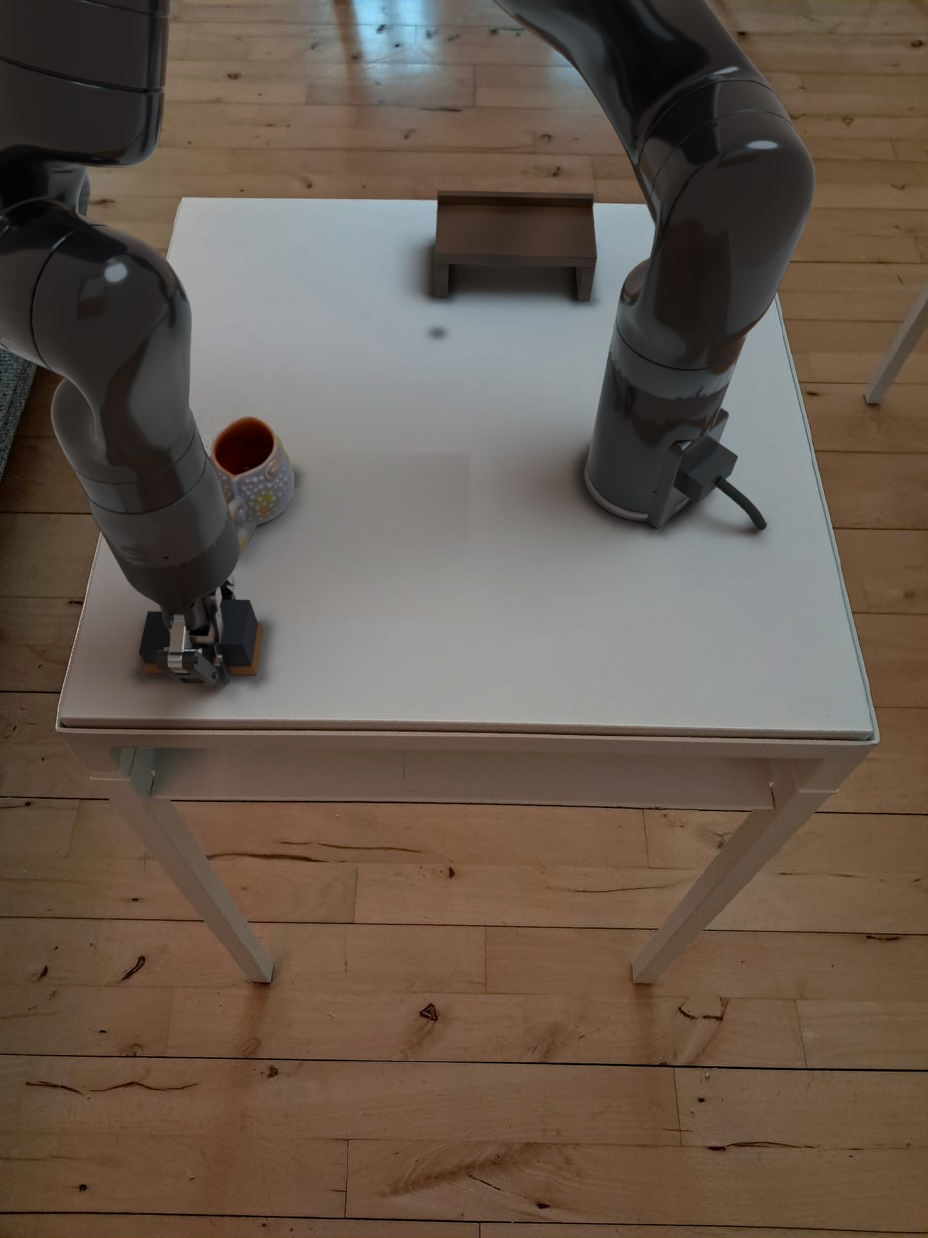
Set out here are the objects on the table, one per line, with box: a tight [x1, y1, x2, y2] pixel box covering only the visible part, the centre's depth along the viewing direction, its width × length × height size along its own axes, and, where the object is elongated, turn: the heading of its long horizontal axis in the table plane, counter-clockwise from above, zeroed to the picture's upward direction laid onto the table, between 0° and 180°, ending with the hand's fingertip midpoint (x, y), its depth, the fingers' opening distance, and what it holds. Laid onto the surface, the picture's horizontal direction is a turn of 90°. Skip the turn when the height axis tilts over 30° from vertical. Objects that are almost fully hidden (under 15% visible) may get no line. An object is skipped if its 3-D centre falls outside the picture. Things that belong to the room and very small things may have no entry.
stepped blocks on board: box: [138, 599, 264, 676], centre depth 70 cm, size 8×4×5 cm, turn 89°
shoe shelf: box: [434, 189, 598, 302], centre depth 92 cm, size 15×8×6 cm, turn 89°
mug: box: [209, 415, 295, 557], centre depth 75 cm, size 12×7×7 cm, turn 170°
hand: (222, 647), depth 72 cm, fingers open, 4 cm apart
